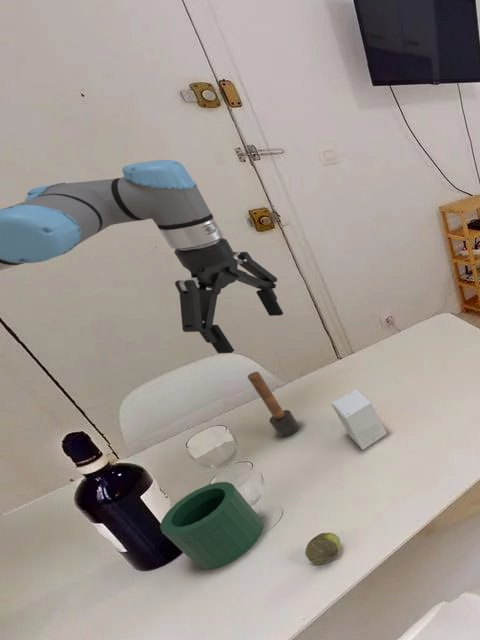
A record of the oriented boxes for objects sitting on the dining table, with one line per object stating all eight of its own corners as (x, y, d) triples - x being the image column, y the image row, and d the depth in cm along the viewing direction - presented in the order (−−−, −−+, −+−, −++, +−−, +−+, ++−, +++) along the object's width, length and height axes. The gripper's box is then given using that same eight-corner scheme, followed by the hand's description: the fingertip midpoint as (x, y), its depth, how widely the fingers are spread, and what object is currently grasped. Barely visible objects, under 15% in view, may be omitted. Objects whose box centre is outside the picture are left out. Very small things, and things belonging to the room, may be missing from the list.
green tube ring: (181, 570, 72) (143, 535, 67) (227, 517, 80) (196, 482, 75) (235, 568, 72) (201, 533, 67) (275, 516, 80) (248, 480, 75)
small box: (387, 434, 97) (372, 402, 92) (362, 451, 93) (345, 418, 88) (372, 419, 101) (357, 388, 96) (347, 434, 97) (330, 402, 92)
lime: (347, 552, 74) (336, 537, 71) (316, 575, 71) (303, 559, 68) (340, 536, 77) (329, 520, 74) (309, 556, 73) (297, 541, 71)
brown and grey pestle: (274, 438, 97) (236, 381, 88) (287, 424, 100) (251, 368, 92) (291, 437, 97) (255, 380, 88) (303, 424, 100) (269, 368, 92)
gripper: (153, 273, 68) (220, 370, 78) (268, 219, 90) (309, 301, 100) (108, 274, 68) (181, 371, 78) (234, 220, 90) (278, 302, 100)
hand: (253, 332), depth 89 cm, fingers open, 13 cm apart
